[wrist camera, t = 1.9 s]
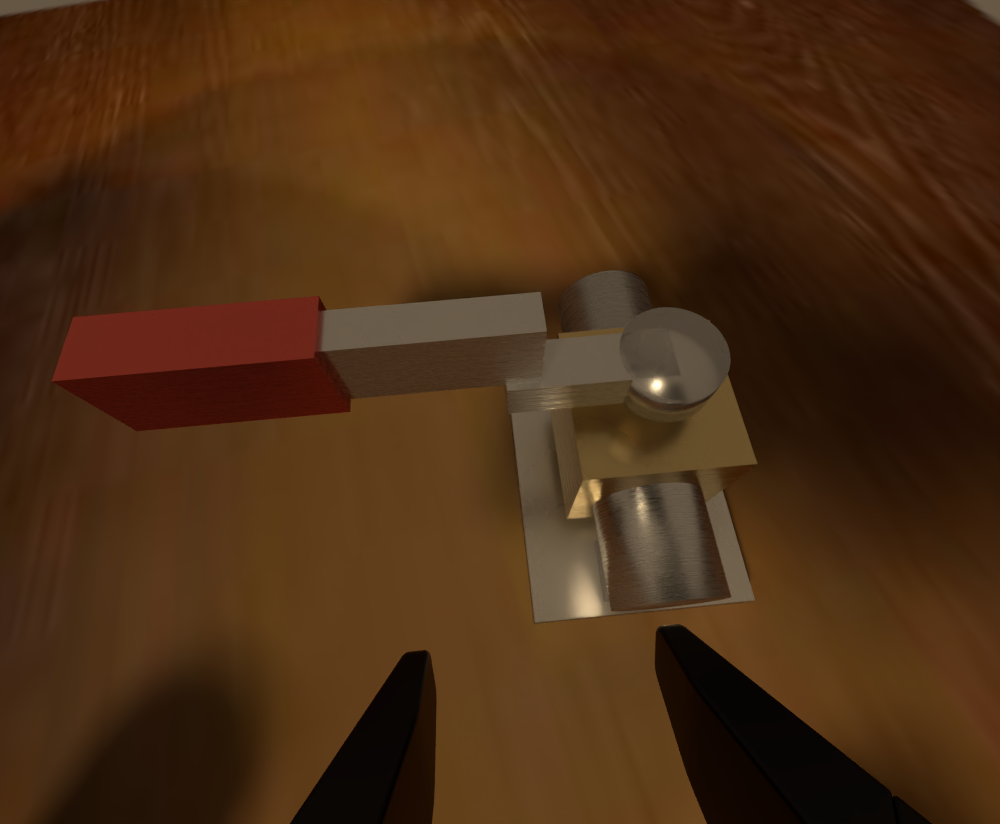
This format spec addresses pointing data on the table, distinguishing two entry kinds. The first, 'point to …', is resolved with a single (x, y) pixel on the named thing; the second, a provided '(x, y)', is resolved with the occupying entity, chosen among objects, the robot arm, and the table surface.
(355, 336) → the valve lever
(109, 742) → the table surface
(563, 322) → the stand
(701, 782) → the robot arm
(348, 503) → the table surface
